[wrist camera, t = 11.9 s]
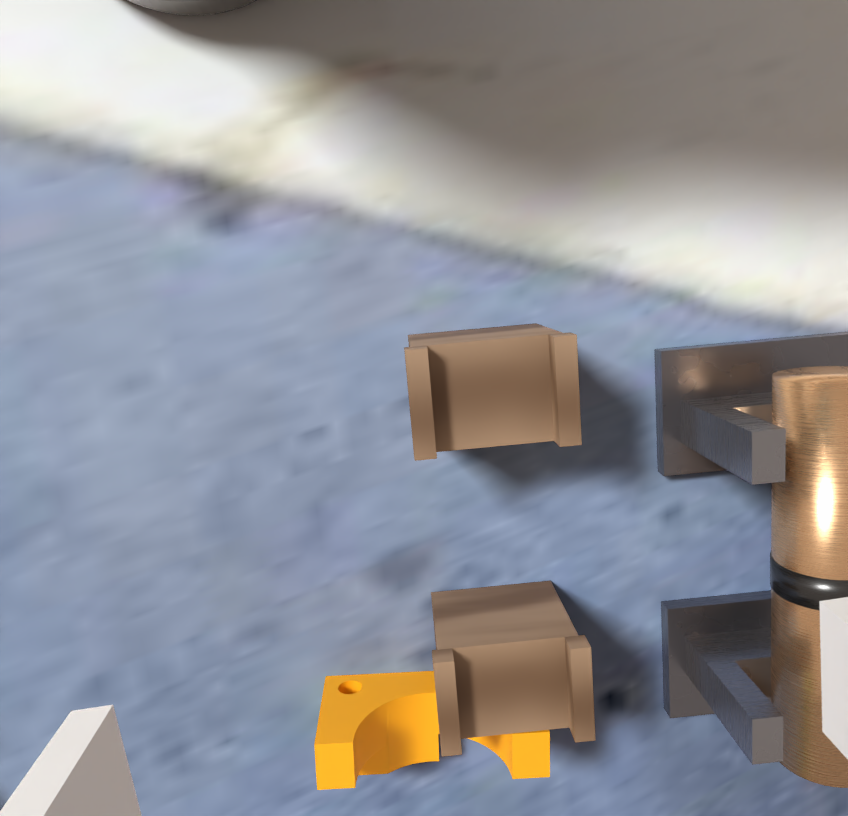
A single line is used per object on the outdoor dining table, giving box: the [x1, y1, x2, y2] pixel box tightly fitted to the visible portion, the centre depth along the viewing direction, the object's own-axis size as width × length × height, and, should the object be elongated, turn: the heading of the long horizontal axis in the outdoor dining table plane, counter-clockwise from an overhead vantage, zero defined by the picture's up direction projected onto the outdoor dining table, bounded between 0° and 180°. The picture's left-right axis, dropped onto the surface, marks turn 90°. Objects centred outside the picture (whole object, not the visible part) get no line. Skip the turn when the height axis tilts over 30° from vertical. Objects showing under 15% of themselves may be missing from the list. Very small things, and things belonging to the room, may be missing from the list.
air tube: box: [770, 366, 848, 788], centre depth 36 cm, size 20×5×5 cm, turn 5°
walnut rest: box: [404, 324, 595, 756], centre depth 37 cm, size 20×8×8 cm, turn 5°
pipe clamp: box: [314, 671, 550, 790], centre depth 40 cm, size 12×4×6 cm, turn 92°
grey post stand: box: [655, 332, 848, 764], centre depth 38 cm, size 22×12×9 cm, turn 5°
